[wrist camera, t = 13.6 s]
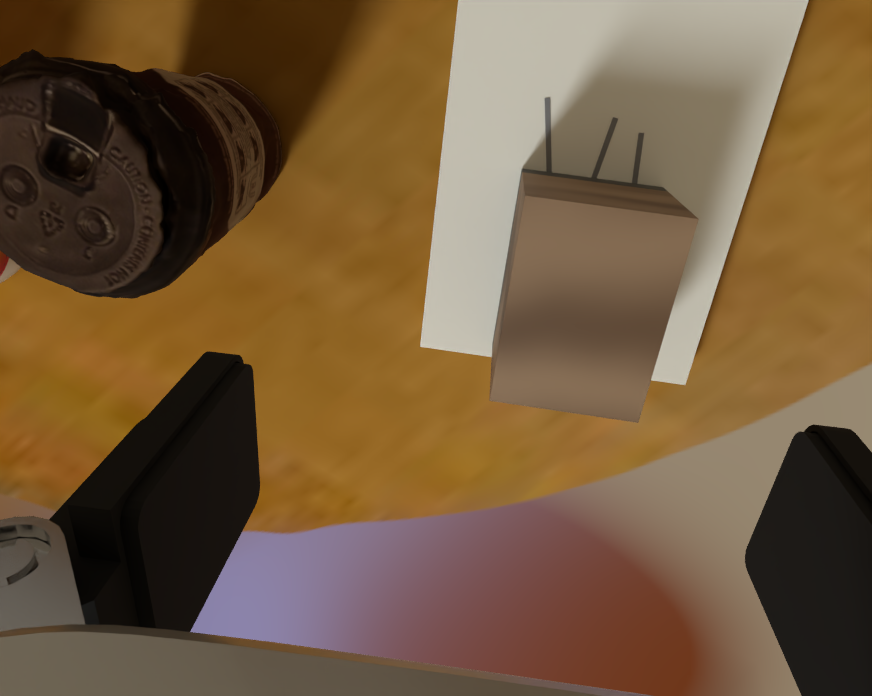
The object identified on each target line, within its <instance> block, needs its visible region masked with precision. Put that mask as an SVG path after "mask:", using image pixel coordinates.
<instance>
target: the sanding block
mask: <svg viewBox="0 0 872 696" xmlns="http://www.w3.org/2000/svg"><path fill="white" fill-rule="evenodd" d="M698 220H699V219H698V218H697V217H696V216H695V215H694V214H693V213H691V212H690V211H689V210H688V209H687V208H686V207H685V206H684V205H683V204H681V203H680V202H679V201H678V200H677V199H676V198H675V197H674V196H672V195H671V194H670V193H669V192H668V191H667V190H666V189H665V188H663V187H658V186H651V185H643V184H636V183H628V182H620V181H613V180H605V179H598V178H590V177H583V176H575V175H568V174H560V173H553V172H545V171H538V170H530V169H522V170H521V176H520V182H519V187H518V193H517V199H516V205H515V211H514V217H513V223H512V229H511V235H510V241H509V247H508V253H507V259H506V265H505V271H504V277H503V283H502V289H501V295H500V301H499V307H498V313H497V319H496V325H495V331H494V337H493V343H492V362H491V382H490V401H496V402H502V403H509V404H516V405H522V406H529V407H536V408H543V409H549V410H556V411H563V412H570V413H576V414H583V415H590V416H596V417H603V418H610V419H617V420H623V421H630V422H637V423H638V422H639V418H640V415H641V412H642V408H643V405H644V402H645V398H646V395H647V392H648V388H649V385H650V381H651V378H652V375H653V371H654V368H655V365H656V361H657V358H658V355H659V351H660V348H661V345H662V341H663V338H664V334H665V331H666V328H667V324H668V321H669V318H670V314H671V311H672V308H673V304H674V301H675V297H676V294H677V291H678V287H679V284H680V281H681V277H682V274H683V271H684V267H685V264H686V260H687V257H688V254H689V250H690V247H691V244H692V240H693V237H694V234H695V230H696V227H697V224H698Z"/></svg>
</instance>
